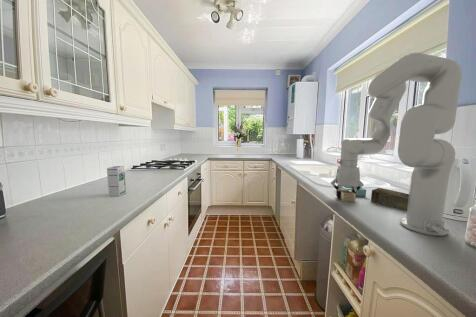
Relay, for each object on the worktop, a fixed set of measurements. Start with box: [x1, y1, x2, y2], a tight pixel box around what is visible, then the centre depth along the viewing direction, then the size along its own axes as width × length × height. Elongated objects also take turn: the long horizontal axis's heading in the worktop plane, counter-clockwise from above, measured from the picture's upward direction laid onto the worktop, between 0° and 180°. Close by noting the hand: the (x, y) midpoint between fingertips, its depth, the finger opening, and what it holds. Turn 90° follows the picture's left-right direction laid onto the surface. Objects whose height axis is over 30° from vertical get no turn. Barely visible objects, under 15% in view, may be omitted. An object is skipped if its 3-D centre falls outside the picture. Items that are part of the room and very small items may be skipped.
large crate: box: [336, 184, 367, 198], centre depth 117 cm, size 12×11×4 cm
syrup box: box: [106, 165, 127, 197], centre depth 107 cm, size 6×6×14 cm
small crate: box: [339, 190, 356, 203], centre depth 106 cm, size 7×6×4 cm
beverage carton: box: [370, 187, 409, 211], centre depth 98 cm, size 8×19×7 cm, turn 35°
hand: (345, 198), depth 106 cm, fingers closed on small crate, 6 cm apart
